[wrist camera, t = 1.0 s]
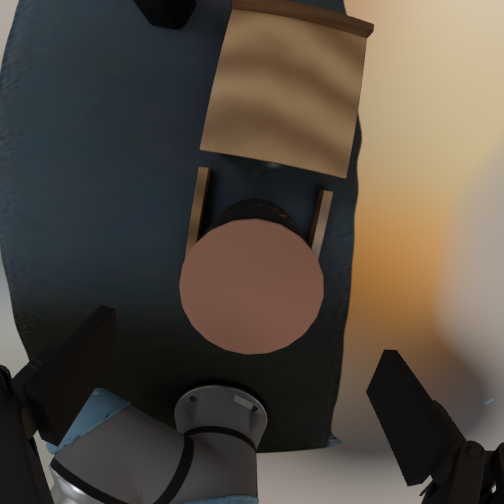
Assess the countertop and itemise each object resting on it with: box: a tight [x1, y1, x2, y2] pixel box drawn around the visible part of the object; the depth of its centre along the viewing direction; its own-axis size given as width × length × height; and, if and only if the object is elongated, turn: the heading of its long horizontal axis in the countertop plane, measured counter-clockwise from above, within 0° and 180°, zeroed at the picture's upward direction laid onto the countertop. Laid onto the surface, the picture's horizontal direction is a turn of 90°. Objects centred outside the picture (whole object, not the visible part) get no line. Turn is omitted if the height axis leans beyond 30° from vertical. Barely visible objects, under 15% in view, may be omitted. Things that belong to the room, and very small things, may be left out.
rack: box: [185, 0, 374, 260], centre depth 32 cm, size 34×16×12 cm, turn 169°
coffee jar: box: [179, 199, 324, 354], centre depth 31 cm, size 11×11×18 cm
